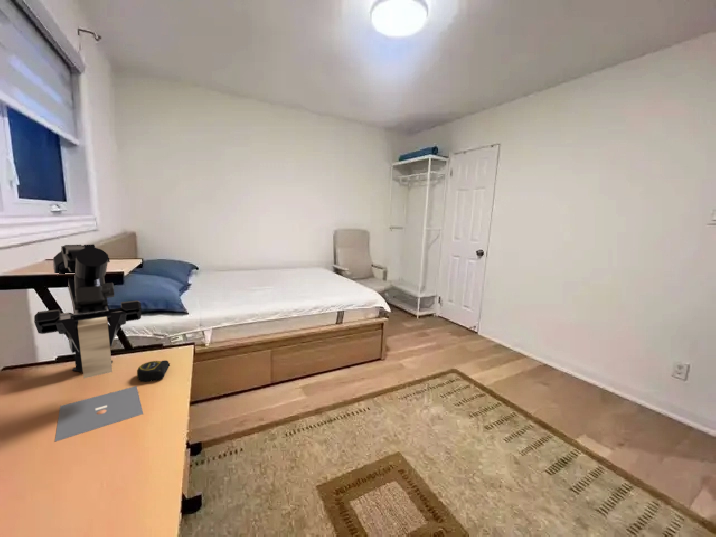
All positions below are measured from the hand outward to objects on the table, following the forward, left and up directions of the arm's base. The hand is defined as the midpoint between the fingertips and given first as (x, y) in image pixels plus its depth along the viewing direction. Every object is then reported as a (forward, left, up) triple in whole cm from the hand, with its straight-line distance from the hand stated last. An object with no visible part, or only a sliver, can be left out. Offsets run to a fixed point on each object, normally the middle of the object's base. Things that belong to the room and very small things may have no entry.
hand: (95, 348), depth 70 cm
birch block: (-1, -1, -6) cm, 6 cm away
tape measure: (-13, +4, -14) cm, 19 cm away
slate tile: (+3, +3, -13) cm, 14 cm away
